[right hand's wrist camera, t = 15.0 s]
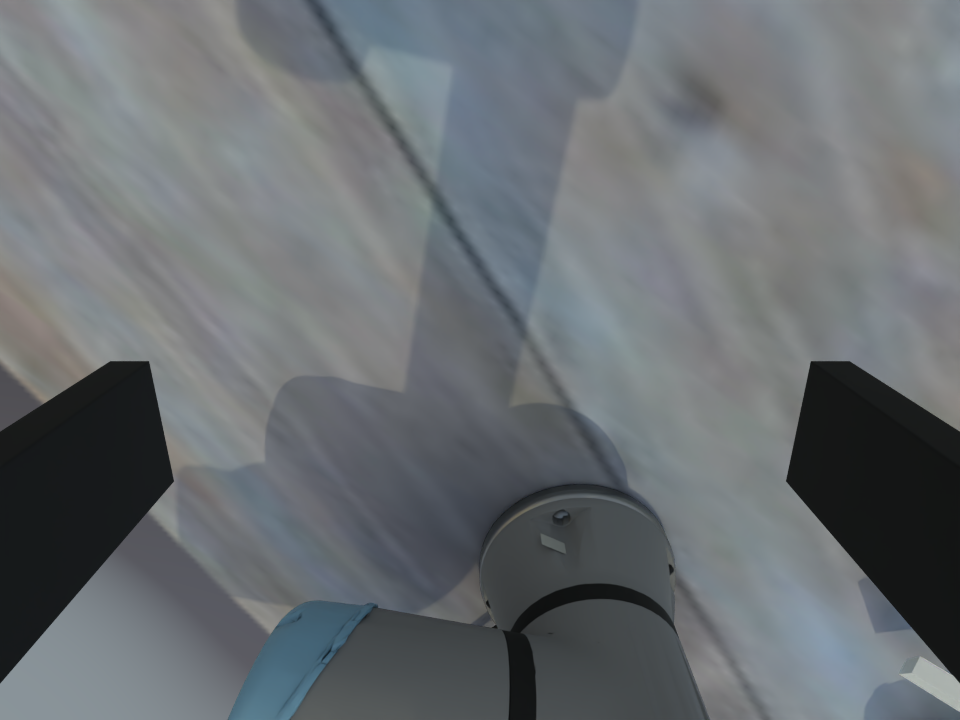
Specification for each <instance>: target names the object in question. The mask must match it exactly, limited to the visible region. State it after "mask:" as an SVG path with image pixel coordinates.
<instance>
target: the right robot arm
mask: <svg viewBox="0 0 960 720" xmlns="http://www.w3.org/2000/svg"><path fill="white" fill-rule="evenodd" d="M173 482H174V479H173V475H172V470H171V465H170V460H169V455H168V450H167V446H166V441H165V436H164V431H163V426H162V422H161V417H160V412H159V407H158V402H157V398H156V393H155V388H154V383H153V378H152V373H151V369H150V364H149V361H110V362H109V363H107V364H105V365H104V366H102V367H101V368H99V369H98V370H96V371H94V372H93V373H91V374H90V375H88V376H87V377H85V378H84V379H82V380H80V381H79V382H77V383H76V384H74V385H73V386H71V387H69V388H68V389H66V390H65V391H63V392H62V393H60V394H58V395H57V396H55V397H54V398H52V399H51V400H49V401H48V402H46V403H44V404H43V405H41V406H40V407H38V408H37V409H35V410H33V411H32V412H30V413H29V414H27V415H26V416H24V417H22V418H21V419H19V420H18V421H16V422H15V423H13V424H12V425H10V426H8V427H7V428H5V429H4V430H2V431H1V432H0V683H1V682H2V681H3V680H4V678H5V677H6V676H7V675H8V674H9V672H10V671H11V670H12V669H13V668H14V667H15V666H16V664H17V663H18V662H19V661H20V660H21V659H22V657H23V656H24V655H25V654H26V653H27V652H28V650H29V649H30V648H31V647H32V646H33V645H34V643H35V642H36V641H37V640H38V639H39V638H40V636H41V635H42V634H43V633H44V632H45V631H46V629H47V628H48V627H49V626H50V625H51V624H52V623H53V621H54V620H55V619H56V618H57V617H58V616H59V614H60V613H61V612H62V611H63V610H64V609H65V607H66V606H67V605H68V604H69V603H70V602H71V600H72V599H73V598H74V597H75V596H76V594H77V593H78V592H79V591H80V590H81V589H82V588H83V586H84V585H85V584H86V583H87V582H88V581H89V579H90V578H91V577H92V576H93V575H94V574H95V573H96V571H97V570H98V569H99V568H100V567H101V566H102V564H103V563H104V562H105V561H106V560H107V558H108V557H109V556H110V555H111V554H112V553H113V552H114V550H115V549H116V548H117V547H118V546H119V545H120V543H121V542H122V541H123V540H124V539H125V538H126V536H127V535H128V534H129V533H130V532H131V531H132V529H133V528H134V527H135V526H136V525H137V524H138V523H139V521H140V520H141V519H142V518H143V517H144V516H145V514H146V513H147V512H148V511H149V510H150V509H151V507H152V506H153V505H154V504H155V503H156V502H157V500H158V499H159V498H160V497H161V496H162V495H163V493H164V492H165V491H166V490H167V489H168V488H169V486H170V485H171V484H172V483H173ZM786 482H787V483H788V484H789V485H790V486H791V488H792V489H793V490H794V491H795V492H796V493H797V495H798V496H799V497H800V498H801V499H802V500H803V502H804V503H805V504H806V505H807V506H808V507H809V509H810V510H811V511H812V512H813V513H814V514H815V516H816V517H817V518H818V519H819V520H820V521H821V523H822V524H823V525H824V526H825V527H826V528H827V529H828V531H829V532H830V533H831V534H832V535H833V536H834V538H835V539H836V540H837V541H838V542H839V543H840V545H841V546H842V547H843V548H844V549H845V550H846V552H847V553H848V554H849V555H850V556H851V557H852V559H853V560H854V561H855V562H856V563H857V564H858V566H859V567H860V568H861V569H862V570H863V571H864V573H865V574H866V575H867V576H868V577H869V578H870V580H871V581H872V582H873V583H874V584H875V585H876V586H877V588H878V589H879V590H880V591H881V592H882V593H883V595H884V596H885V597H886V598H887V599H888V600H889V602H890V603H891V604H892V605H893V606H894V607H895V609H896V610H897V611H898V612H899V613H900V614H901V616H902V617H903V618H904V619H905V620H906V621H907V623H908V624H909V625H910V626H911V627H912V628H913V630H914V631H915V632H916V633H917V634H918V635H919V637H920V638H921V639H922V640H923V641H924V642H925V643H926V645H927V646H928V647H929V648H930V649H931V650H932V652H933V653H934V654H935V655H936V656H937V657H938V659H939V660H940V661H941V662H942V663H943V664H944V666H945V667H946V668H947V669H948V670H949V671H950V673H951V674H952V675H953V676H954V677H955V678H956V680H957V681H958V682H959V683H960V432H959V431H958V430H956V429H955V428H953V427H952V426H950V425H948V424H947V423H945V422H944V421H942V420H941V419H939V418H938V417H936V416H934V415H933V414H931V413H930V412H928V411H927V410H925V409H923V408H922V407H920V406H919V405H917V404H916V403H914V402H912V401H911V400H909V399H908V398H906V397H905V396H903V395H902V394H900V393H898V392H897V391H895V390H894V389H892V388H891V387H889V386H887V385H886V384H884V383H883V382H881V381H880V380H878V379H876V378H875V377H873V376H872V375H870V374H869V373H867V372H866V371H864V370H862V369H861V368H859V367H858V366H856V365H855V364H853V363H851V362H850V361H811V364H810V369H809V373H808V378H807V383H806V388H805V393H804V398H803V402H802V407H801V412H800V417H799V422H798V426H797V431H796V436H795V441H794V446H793V450H792V455H791V460H790V465H789V470H788V475H787V479H786ZM675 578H676V571H675V559H674V555H673V551H672V549H671V546H670V544H669V541H668V539H667V537H666V534H665V532H664V530H663V528H662V526H661V524H660V523H659V521H658V520H657V519H656V517H655V516H654V515H653V514H652V513H651V512H650V511H649V510H648V509H647V508H646V507H645V506H644V505H642V504H641V503H640V502H638V501H637V500H635V499H633V498H632V497H630V496H628V495H626V494H624V493H621V492H619V491H616V490H613V489H609V488H605V487H600V486H594V485H565V486H559V487H554V488H550V489H546V490H543V491H540V492H537V493H535V494H533V495H530V496H528V497H526V498H524V499H523V500H521V501H519V502H518V503H516V504H515V505H513V506H512V507H510V508H509V509H508V510H507V511H506V512H504V513H503V514H502V515H501V516H500V517H499V519H498V520H497V521H496V522H495V523H494V525H493V526H492V528H491V529H490V531H489V532H488V534H487V536H486V538H485V541H484V543H483V546H482V550H481V555H480V589H481V593H482V597H483V600H484V603H485V605H486V608H487V610H488V612H489V614H490V616H491V618H492V620H493V621H494V623H495V624H496V625H495V626H494V627H492V628H489V627H483V626H477V625H471V624H465V623H460V622H454V621H448V620H443V619H437V618H431V617H426V616H420V615H414V614H409V613H403V612H397V611H392V610H386V609H380V608H378V605H377V604H374V603H368V604H366V605H364V606H361V605H352V604H344V603H335V602H327V601H310V602H306V603H303V604H301V605H299V606H297V607H295V608H294V609H293V610H291V611H290V612H289V613H288V614H287V615H286V616H285V617H284V618H283V619H282V620H281V621H280V622H279V624H278V625H277V626H276V628H275V629H274V631H273V632H272V633H271V635H270V636H269V638H268V640H267V641H266V643H265V644H264V646H263V648H262V650H261V652H260V653H259V655H258V657H257V659H256V660H255V662H254V664H253V666H252V668H251V670H250V672H249V674H248V676H247V678H246V680H245V682H244V684H243V686H242V689H241V691H240V693H239V695H238V697H237V699H236V702H235V704H234V706H233V708H232V711H231V713H230V715H229V718H228V720H710V719H709V716H708V713H707V711H706V708H705V705H704V703H703V700H702V697H701V695H700V692H699V690H698V687H697V684H696V682H695V679H694V676H693V674H692V671H691V668H690V666H689V663H688V660H687V658H686V655H685V653H684V650H683V647H682V645H681V642H680V640H679V637H678V634H677V632H676V629H675V626H674V608H675V598H674V589H675Z"/></svg>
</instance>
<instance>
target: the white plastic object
mask: <svg viewBox="0 0 960 720" xmlns="http://www.w3.org/2000/svg"><path fill="white" fill-rule="evenodd" d="M899 675H901V676H903V677H904V678H906V679H907V680H909V681H911V682H912V683H914V684H915V685H917V686H919V687H920V688H922V689H923V690H925V691H927V692H928V693H930V694H932V695H933V696H935V697H936V698H938V699H940V700H941V701H943V702H944V703H946V704H948V705H949V706H951V707H952V708H954V709H956V710H957V711H959V712H960V683H959V682H958V681H957V680H956V678H955V677H954V676H953V675H951V674H949V673H948V672H946V671H944V670H943V669H941V668H939V667H938V666H936V665H934V664H933V663H931V662H929V661H928V660H926V659H924V658H923V657H921V656H919V657H914V658H909V659H906V661H905V663H904V665H903V667H902V669H901V671H900V673H899Z"/></svg>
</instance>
